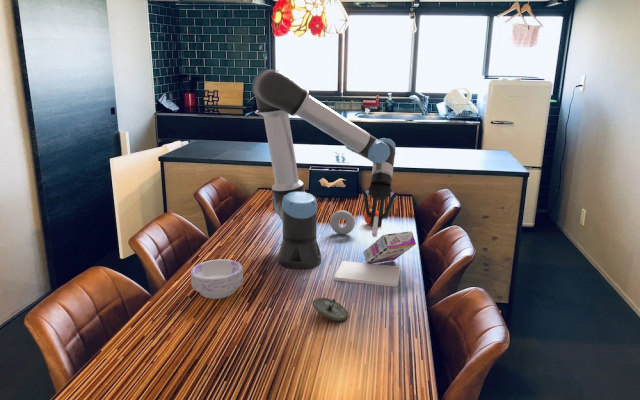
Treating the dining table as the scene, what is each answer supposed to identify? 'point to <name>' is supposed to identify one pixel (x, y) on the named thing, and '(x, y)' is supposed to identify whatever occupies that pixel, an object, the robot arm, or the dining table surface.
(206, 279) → the paper bowls
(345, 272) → the cutting board
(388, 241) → the candy bar box
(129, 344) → the dining table surface
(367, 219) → the clementine
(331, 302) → the lid
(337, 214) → the donut
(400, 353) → the dining table surface
